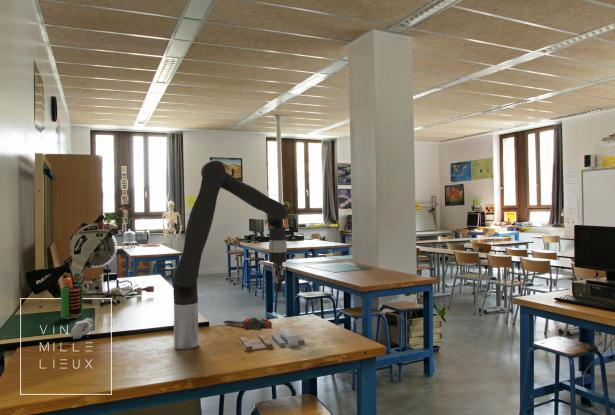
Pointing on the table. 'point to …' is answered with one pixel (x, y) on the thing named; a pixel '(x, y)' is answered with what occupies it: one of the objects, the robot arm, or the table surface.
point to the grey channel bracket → (281, 343)
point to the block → (288, 336)
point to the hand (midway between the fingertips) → (278, 291)
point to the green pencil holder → (71, 299)
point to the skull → (81, 328)
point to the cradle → (255, 343)
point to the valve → (252, 323)
